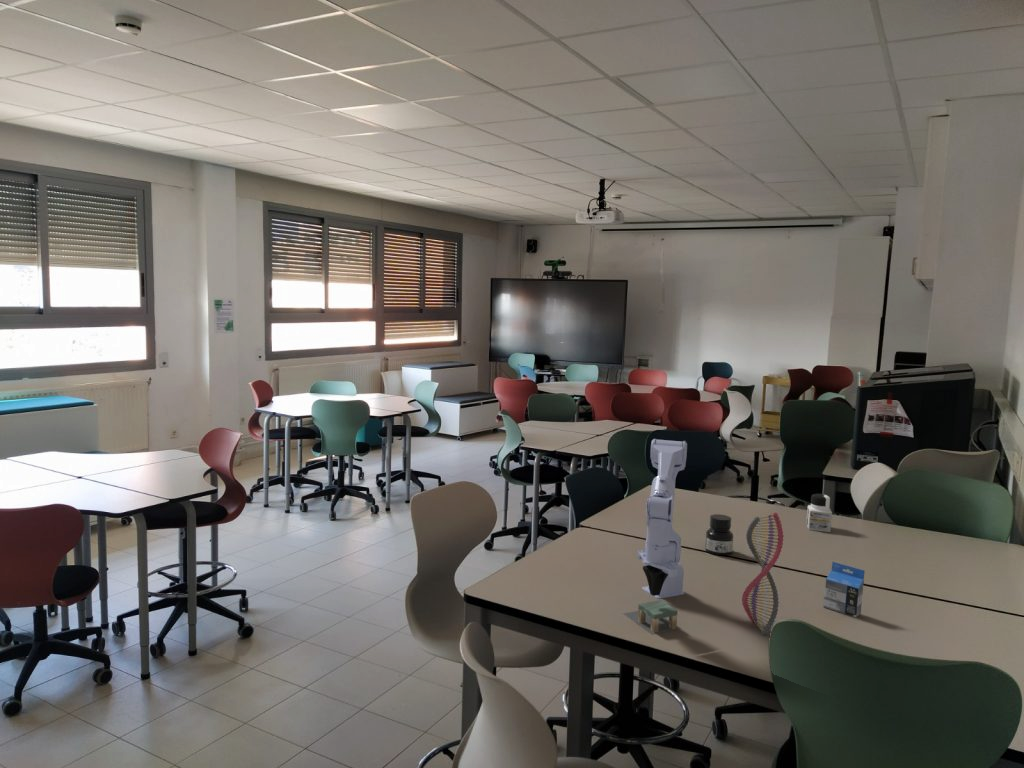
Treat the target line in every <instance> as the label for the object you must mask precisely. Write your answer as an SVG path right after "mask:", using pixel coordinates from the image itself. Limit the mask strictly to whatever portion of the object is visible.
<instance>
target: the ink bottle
mask: <svg viewBox="0 0 1024 768" xmlns="http://www.w3.org/2000/svg"><path fill="white" fill-rule="evenodd" d="M709 527H710V528H708V529H707V530H706V533H705V547H704V549H705V551H706V552H707V553H709V554H711V555H716V556H729V555H731V554H732V553H733V549H734V547H733V546H734V533H733V532H732V531H731V527H732V517H731V516H729V515H726V514H720V513H719V514H717V513H716V514H711V515H710V517H709Z"/></svg>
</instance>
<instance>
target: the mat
mask: <svg viewBox="0 0 1024 768" xmlns="http://www.w3.org/2000/svg"><path fill="white" fill-rule="evenodd" d="M623 615H624V616H625V617H627V618H628V619H630V620H631V621H633V622H634V623H636V624H637V625H638V626H640V627H641V628H643V629H644V630H645V631H647V633H649V634H651V635H655V634H656V635H657V634H660V633H666V632H671V631H676V630H681V629H682V628H681V627H679V626H678V625H677V628H675V629H671V628H670V627H669V618H667V617H666V618H663V619H661V620H659V629H658V632H652V631H651V630H650V629H651V617H650V616H649V615H647V614H646V619H645V623H640V622H638V610H635V611H630V612H624V613H623Z"/></svg>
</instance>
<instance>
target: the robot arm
mask: <svg viewBox="0 0 1024 768" xmlns="http://www.w3.org/2000/svg"><path fill="white" fill-rule="evenodd" d="M687 453H688V443H687V441H686V440H683V441H679V440H677V441H676V440H668V439H667V440H666V439H665V440H664V439H657V438H653V439H652V440H651V444H650V456H649V457H650V460H651V465H652V467H653V468H655V469H657V476H655V477H654V478H653V480H652V482H651V487H650V493H649V497H647V499H646V503H645V504H646V505H645V515H646V537H645V538H646V539H645V544H644V545H645V546H644V550H643V549H642V550H637V551H636V552H637V555H636V556H637V557H636V558H637V559H638V560H641V563H642V564H643V566H642V570H643V572H644V575H645V578H646V580H647V586H642V587H641V590H643V591H644V592H646V593H647V594H649V595H651V596H652V597H654V598H655V599H658V600H661V599H665V598H671V597H676V596H677V597H678V596H681V595H685V592H684V567H683V565H682V563H681V552H682V537H681V535H680V534H679V533H678V532H677V531H676V530H675V529H673V519H674V507H675V506H674V503H675V492H676V491H675V490H676V478H677V475H678V473H679V472H680V471H684V470H685V468H686V464H687Z"/></svg>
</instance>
